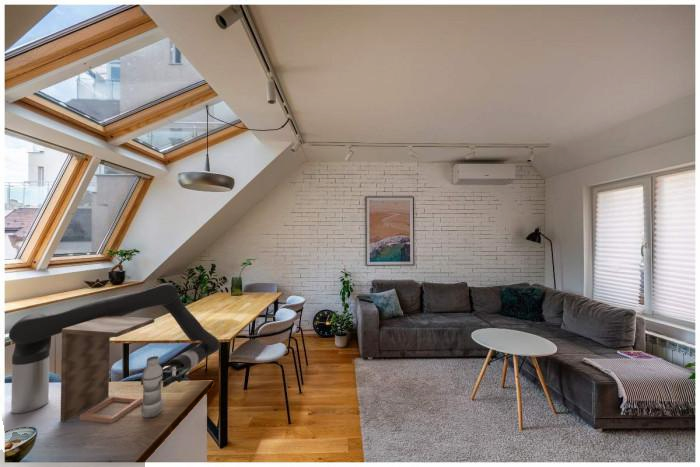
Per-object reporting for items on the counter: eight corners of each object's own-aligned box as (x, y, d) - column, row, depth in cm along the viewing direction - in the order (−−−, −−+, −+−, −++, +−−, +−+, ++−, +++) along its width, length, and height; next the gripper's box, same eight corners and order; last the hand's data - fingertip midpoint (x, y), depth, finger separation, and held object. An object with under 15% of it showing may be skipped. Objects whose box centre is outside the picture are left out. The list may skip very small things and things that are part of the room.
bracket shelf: (105, 395, 115) (106, 315, 115) (152, 399, 112) (154, 318, 112) (60, 421, 99) (62, 328, 99) (114, 427, 97) (116, 332, 96)
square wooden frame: (113, 398, 112) (113, 395, 112) (142, 401, 111) (142, 397, 111) (79, 419, 100) (79, 415, 100) (112, 423, 99) (112, 418, 99)
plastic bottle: (138, 422, 99) (139, 363, 99) (143, 410, 106) (144, 355, 106) (160, 418, 102) (161, 361, 102) (164, 407, 108) (165, 353, 108)
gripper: (167, 352, 121) (134, 371, 105) (200, 355, 119) (171, 374, 103) (167, 371, 121) (134, 392, 105) (199, 373, 119) (171, 395, 103)
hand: (152, 383), depth 104 cm, fingers open, 8 cm apart
